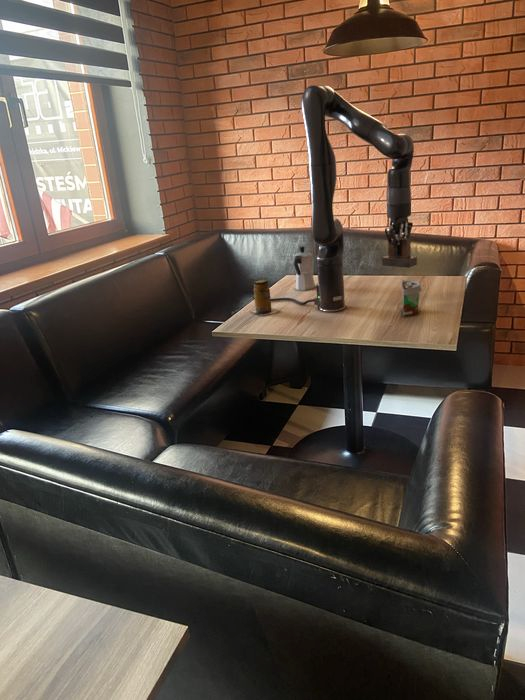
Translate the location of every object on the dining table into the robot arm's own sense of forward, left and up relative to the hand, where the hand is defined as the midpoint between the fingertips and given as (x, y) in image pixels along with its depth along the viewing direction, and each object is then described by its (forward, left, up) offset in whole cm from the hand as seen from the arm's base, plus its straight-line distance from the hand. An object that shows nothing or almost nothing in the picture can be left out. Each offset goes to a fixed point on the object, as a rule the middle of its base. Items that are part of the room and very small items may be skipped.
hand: (399, 255), depth 176 cm
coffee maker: (-56, +14, -21) cm, 62 cm away
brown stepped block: (0, 0, -3) cm, 3 cm away
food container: (+2, +5, -21) cm, 22 cm away
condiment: (-47, -19, -21) cm, 55 cm away
